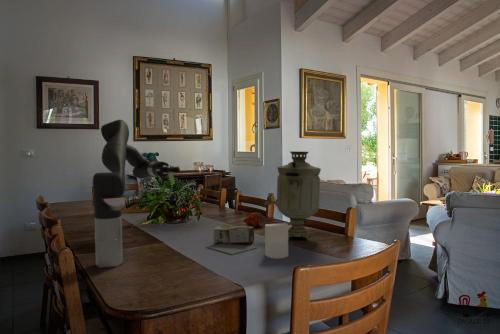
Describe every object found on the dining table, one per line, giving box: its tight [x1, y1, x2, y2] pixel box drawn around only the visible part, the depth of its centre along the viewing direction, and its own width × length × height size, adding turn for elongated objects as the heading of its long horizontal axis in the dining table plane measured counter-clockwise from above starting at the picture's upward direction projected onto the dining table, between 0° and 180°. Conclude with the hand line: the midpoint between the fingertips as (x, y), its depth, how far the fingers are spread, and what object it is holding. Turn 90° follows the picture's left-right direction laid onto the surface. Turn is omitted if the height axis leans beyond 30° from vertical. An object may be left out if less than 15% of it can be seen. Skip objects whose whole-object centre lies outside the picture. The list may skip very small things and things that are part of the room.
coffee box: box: [213, 225, 255, 246], centre depth 170 cm, size 9×6×16 cm
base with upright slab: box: [264, 222, 289, 259], centre depth 150 cm, size 9×9×12 cm
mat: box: [206, 243, 258, 256], centre depth 161 cm, size 16×14×1 cm
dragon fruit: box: [243, 211, 265, 228], centre depth 206 cm, size 8×8×12 cm
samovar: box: [263, 151, 322, 242], centre depth 180 cm, size 30×26×40 cm
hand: (178, 170), depth 175 cm, fingers closed
